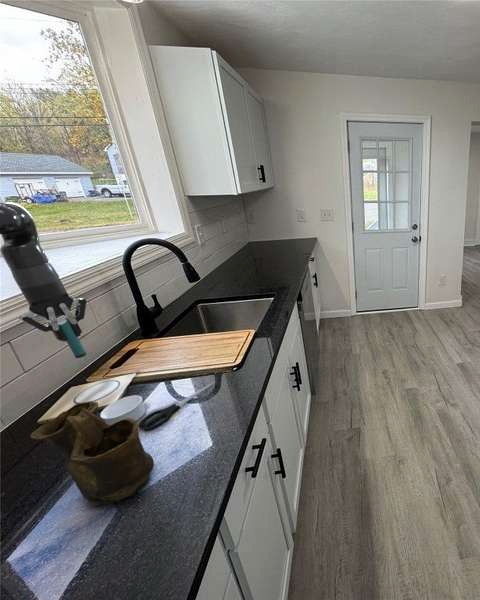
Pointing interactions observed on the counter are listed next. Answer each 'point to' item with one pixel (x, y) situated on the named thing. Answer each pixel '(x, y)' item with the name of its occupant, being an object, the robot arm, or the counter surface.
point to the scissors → (166, 413)
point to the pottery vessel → (99, 453)
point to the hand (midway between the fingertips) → (71, 338)
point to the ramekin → (123, 410)
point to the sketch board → (90, 395)
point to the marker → (72, 339)
